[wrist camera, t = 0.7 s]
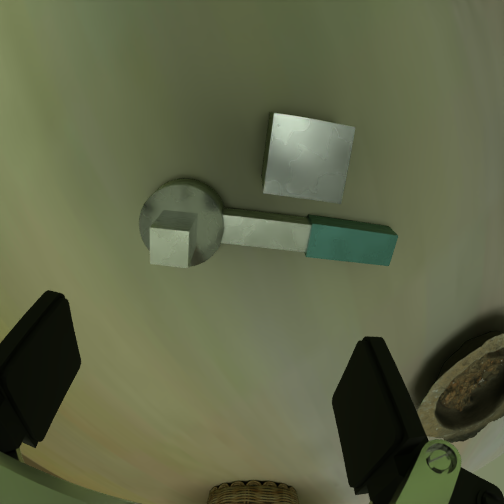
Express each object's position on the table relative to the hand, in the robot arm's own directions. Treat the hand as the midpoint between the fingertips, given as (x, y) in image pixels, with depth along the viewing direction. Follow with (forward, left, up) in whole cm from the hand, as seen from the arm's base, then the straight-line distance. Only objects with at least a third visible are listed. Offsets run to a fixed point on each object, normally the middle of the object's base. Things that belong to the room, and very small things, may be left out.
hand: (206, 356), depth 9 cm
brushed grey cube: (-4, +5, -23) cm, 24 cm away
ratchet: (+4, +4, -23) cm, 24 cm away
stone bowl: (+24, +41, -23) cm, 53 cm away
